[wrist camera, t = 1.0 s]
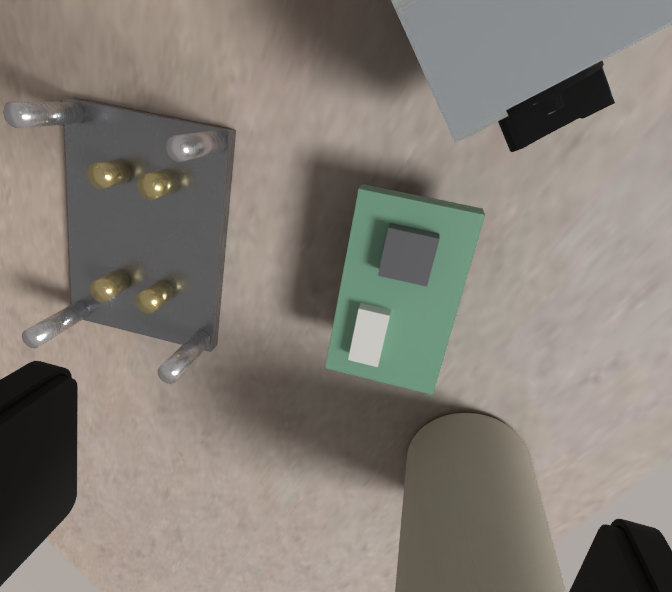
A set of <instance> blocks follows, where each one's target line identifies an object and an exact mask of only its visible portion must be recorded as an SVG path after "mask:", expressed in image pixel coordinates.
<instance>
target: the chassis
mask: <svg viewBox="0 0 672 592" xmlns="http://www.w3.org/2000/svg"><path fill="white" fill-rule="evenodd" d="M3 112H4V117H5V119H6V121H7V122H8V123H9V124H10V125H11V126H13V127H15V128H21V127H37V126H53V125H64V130H65V156H66V182H67V208H68V233H69V259H70V285H71V305H70V306H68V307H66V308H64V309H63V310H61V311H59V312H57V313H55V314H54V315H52V316H50V317H48V318H46V319H45V320H43V321H41V322H39V323H37V324H36V325H34V326H32V327H30V328H28V329H27V330H25V331H24V332H23V333H22V339H23V341H24V343H25V344H26V345H27V346H29V347H31V348H37V347H39V346H41V345H42V344H44V343H45V342H47V341H49V340H50V339H52V338H54V337H55V336H57V335H58V334H60V333H62V332H63V331H65V330H67V329H68V328H70V327H71V326H73V325H75V324H76V323H78V322H79V321H81V320H86V321H90V322H94V323H98V324H102V325H106V326H110V327H114V328H118V329H122V330H126V331H130V332H134V333H138V334H142V335H146V336H150V337H154V338H158V339H162V340H166V341H170V342H174V343H178V344H182V346H181V347H180V348H179V349H178V350H177V351H176V352H175V353H174V354H173V355H172V356H171V357H170V358H169V359H168V360H167V361H166V362H165V363H163V364H162V365H161V366H160V367H159V369H158V376H159V378H160V379H161V380H162V381H163V382H165V383H169V384H171V383H174V382H175V381H176V380H177V379H178V378H179V377H180V376H181V375H182V374H183V373H184V372H185V371H186V370H187V369H188V367H189V366H190V365H191V364H192V363H193V362H194V361H195V360H196V359H197V358H198V357H199V356H200V355H201V354H202V352H203V351H204V350H206V351H209V352H211V351H212V350H213V349H214V348H215V347H216V346H217V339H218V327H219V316H220V305H221V293H222V282H223V271H224V259H225V248H226V237H227V225H228V214H229V203H230V191H231V180H232V169H233V157H234V146H235V135H236V130H233V129H228V128H223V127H218V126H213V125H208V124H203V123H198V122H193V121H188V120H183V119H178V118H173V117H168V116H163V115H158V114H153V113H148V112H143V111H138V110H133V109H128V108H123V107H118V106H113V105H108V104H103V103H98V102H93V101H88V100H83V99H78V98H63V102H8V103H7V104H6V105H5V106H4V111H3Z"/></svg>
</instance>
